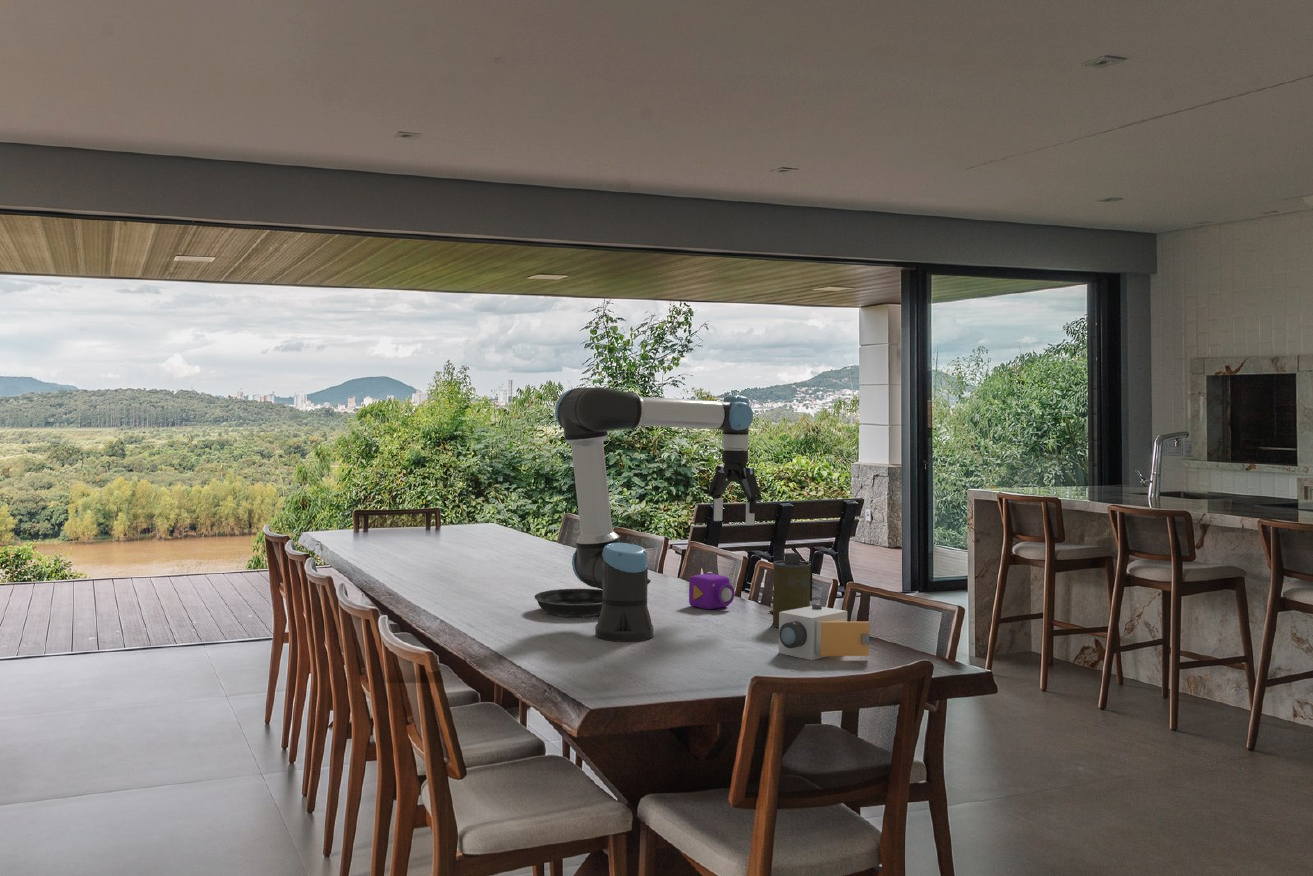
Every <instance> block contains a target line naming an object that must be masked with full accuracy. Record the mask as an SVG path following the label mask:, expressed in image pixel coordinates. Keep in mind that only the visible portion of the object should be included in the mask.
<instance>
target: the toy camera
mask: <svg viewBox="0 0 1313 876" xmlns="http://www.w3.org/2000/svg"><path fill="white" fill-rule="evenodd" d="M688 582H689V583H688V601H689V602H688V603H689V605H690V607H694V608H699V609H703V610H709V609H710V610H718V609H722V607H724V608H727V607H728V606H729V605H731V604H732V602H733V601H734V598H735V588H734V587H733V585H731V583H730V578H729V577H728V576H725V575H721V574H715V573H713V572H712V571H707V572H706V573H704V574H694V575H692V576H690V577H689V581H688ZM726 606H727V607H726Z"/></svg>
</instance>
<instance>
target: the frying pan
mask: <svg viewBox="0 0 1313 876" xmlns="http://www.w3.org/2000/svg"><path fill="white" fill-rule="evenodd" d="M651 582H652V581H651V579H649V578H648V585H649V584H650V583H651ZM602 594H603V589H599V588H597V589H596V588H560V589H553V590H546V591H541V592H538V593H536V594H534V597H533V598H534V599H535V600H536V601H537V604H538V606H539V608H540V609H542V611H544V612H545V613H546V614H549V615H550V616H554V617H559V616H560V618H569V617H570V618H573V619H574V618H575V619H579V618H580V619H583V618H582V617H584V618H593V617H594V616H595V617H599V616H600V612H601V609H602ZM570 618H569V619H570Z"/></svg>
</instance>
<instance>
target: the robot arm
mask: <svg viewBox="0 0 1313 876" xmlns="http://www.w3.org/2000/svg"><path fill="white" fill-rule="evenodd" d="M554 417H555V419H556V422H557V423H558V425H559V426H560V427H561V428H562V429H563V437H564V441H565V442H566V443H567V444H568V445H570V447H571V456H572V464H573V465H572V466H573V474H574V475H573V476H574V481H575V482H574V483H575V492H576V501H577V507H578V508H577V510H578V518H579V528H580V535H579V536H578V537H577V539H576V541H575V543H576V544H575V545H576V549H575V550H574V553H573V554H572V559H571V566H572V571H573V573H574V575H575V577H576V578H577V579H578V580H579V581H580V582H581V583H583V584H585V585H587V586H589V587H591V588H595V589H596V588H597V589H599V590H603V594H602V609H601V612H600V616H598V620H597V624H596V625H595V627H594V634H595V637H596V636H597V637H599V638H598V639H600V638H602V639H601V640H604V639H605V641H610V640H611V642H639V641H646V640H650V639H652V638H654V628H655V627H654V625H653V624H652V618H651V615H650V612H649V607H648V585H649V584H648V579H649V578H648V576H649V575H648V573H649V572H648V571H649V556H648V551H647V550H646V549H645V548H644V547H643V546H641V545H638V544H633V543H632V544H631V543H628V542H620V536H619V534H618V533H616V532H615V531H614V529H613V523H612V522H613V521H612V513H611V512H612V511H611V503H610V494H609V485H608V477H607V466H606V457H605V448H604V442H605V440H606V439H607V438H608V436H609V433H608V432H609V431H610V432H611V431H617V430H620V431H621V430H636V429H637V428H638V427H660V428H661V427H663V428H665V427H666V428H685V429H686V428H690V429H691V428H692V429H698V430H703V429H704V430H705V429H706V430H722V440H721V441H722V443H721V444H722V445H721V446H722V449H723V450H722V452H721V453H722V455H721V461H722V463H723V464H719V465H716V466H715V473H714V475H713V479H712V482H711V485H710V487H709V490H708V492H707V495H708V496H709V497H712V509H713V521H714V522H720V521H721V522H722V521H723V509H724V508H723V506H724V505H723V503H724V499H723V494H724V493H725V491H726V489H727V488H728V487H729V485H730V483H732V482H733V483H737V484H739V486H740V488H741V490H742V492H743V494H744V495H745V497H746V499H747V500H746V502H745V526H754V525H755V517H756V516H755V514H756V512H757V509H756V508H757V502H759V501H761V500H762V499H763V497H762V494H761V491H760V488H759V484H758V481H757V478H756V476H755V475H756V474H755V467H753V466H750V467H749V466H747V464H748V463H749V451H748V450H749V436H750V435H749V432H750V431H749V428H750V426H751V425H752V423H753V420H754V411H753V409H752V408H751V406H750V400H749V398H748V397H747V396H740V395H739V396H735V395H733V396H730V395H729V396H728V395H727V396H724V398H723V401H719V400H716V401H715V400H704V399H702V400H701V399H700V400H699V399H685V398H671V397H670V398H668V397H667V398H666V397H664V398H663V397H649V396H640V394H638V393H637V392H632V391H631V392H630V391H623V390H616V389H613V388H606V387H601V386H599V387H598V386H597V387H581V386H580V387H575V388H571V389H568V390H566V391H565V392H563V393H562V394H561V395H560V397H559V398H558V399H557V401H556V404H555V409H554ZM597 637H596V638H597Z"/></svg>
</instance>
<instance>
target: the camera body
mask: <svg viewBox="0 0 1313 876" xmlns="http://www.w3.org/2000/svg"><path fill="white" fill-rule="evenodd" d="M818 621H819V622H848V610H842V609H837V608H831V607H826V606H823V604H822V603H812V604H811V605H810V606H809V607H803V608H798V609H793V610H787V611H782V612H779V628H778V654H782V655H785V656H791V657H795V658H798V659H799V658H800V659H804V660H809V661H814V660H818V659H823V658H826V657H828V656H816V622H818Z"/></svg>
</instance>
